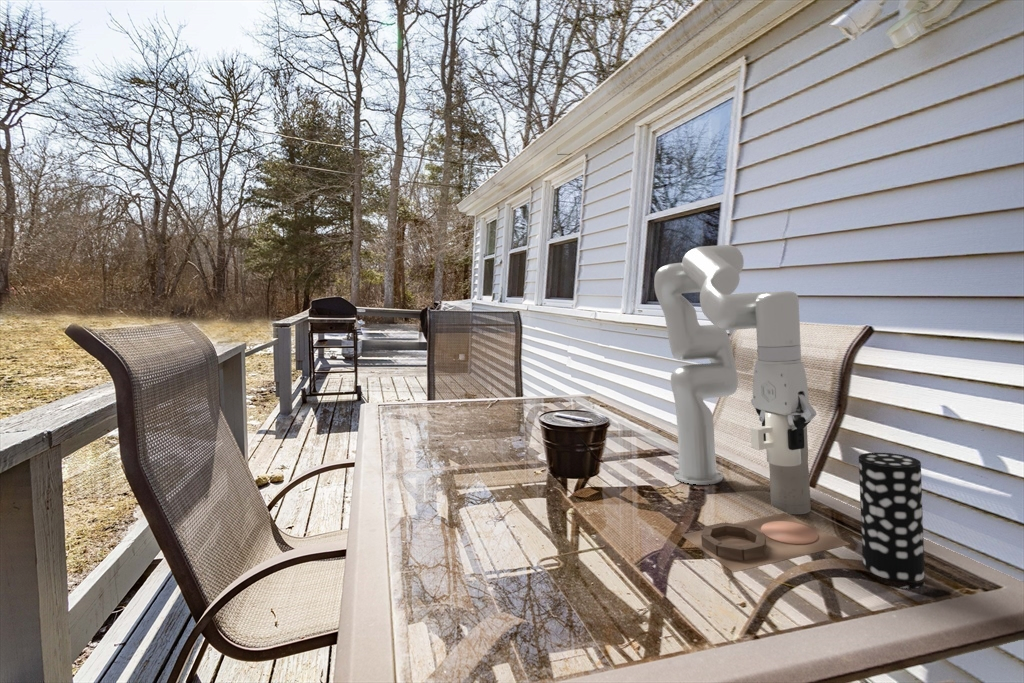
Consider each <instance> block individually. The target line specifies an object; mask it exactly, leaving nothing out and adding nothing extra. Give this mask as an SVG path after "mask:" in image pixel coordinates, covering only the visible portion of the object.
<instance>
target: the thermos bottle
mask: <svg viewBox="0 0 1024 683" xmlns="http://www.w3.org/2000/svg"><path fill="white" fill-rule="evenodd" d="M808 441H809V440H808V426H807V427H806V428H804V448H803V449H801V464H800V465H797V466H778V465H773V464H770V463H768V465H769V489H770V492H769V493H770V506H771V507H772V508H775V509H777V510H779V511H780V512H781V511H782V513H786V514H788V515H805V514H808V513H810V512H811V510H812V508H811V486H810V470H809V444H808Z"/></svg>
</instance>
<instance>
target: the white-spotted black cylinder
mask: <svg viewBox="0 0 1024 683" xmlns="http://www.w3.org/2000/svg"><path fill="white" fill-rule="evenodd" d="M858 472H859V473H858V479H859V496H860V497H859V498H860V499H859V500H860V502H859V503H860V522H861V523H860V525H861V530H860V531H861V552H862V553H861V554H862V565H863V567H864V568H865V569H866V570H867V571H868V572H869V573H872V574H874V575H875V576H878V577H881V578H884V579H888V580H891V581H894V582H895V581H897V582H902V583H903V582H904V583H905V582H906V583H911V584H908V585H904V586H900V587H899V589H906V588H907V589H909V588H910V589H911V588H912V589H917V588H918V589H919V588H921V587H923V586H924V585H925V582H926V581H925V580H924V578H925V575H926V574H925V548H924V547H925V546H924V520H923V518H924V517H923V492H922V491H923V490H922V489H923V487H922V486H923V485H922V462H921V461H920V460H919V459H918V458H914V457H913V456H912V457H911V456H908V455H904V454H900V453H899V454H898V453H893V452H892V453H891V452H866V453H862V454H860V455H858ZM921 580H922V581H921ZM913 582H915V583H913ZM907 589H906V590H907ZM910 589H909V590H910Z"/></svg>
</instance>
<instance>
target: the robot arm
mask: <svg viewBox="0 0 1024 683" xmlns="http://www.w3.org/2000/svg"><path fill="white" fill-rule="evenodd" d="M681 260H682V262H675V263H669V264H666V265H663V266H661V267H660V268H658V269H657V271H656V272H655V274H654V278H653V279H654V283H653V287H654V293H655V296H656V298H657V300H658V303H659V306H660V307H661V310H662V312H663V316H664V319H665V320H664V321H665V325H666V330H667V337H668V343H669V347H670V351H671V354H672V356H673V358H674V359H676V360H678V361H698V360H709V363H708V362H707V363H696V364H688V365H687V364H686V365H682V366H679V367H676V368H675V369H674V370H673V371H672V373H671V376H670V386H671V389H672V394H673V399H674V404H675V412H676V413H675V414H676V415H675V416H676V426H677V427H676V428H677V443H678V444H677V445H678V458H675V459H674V462H675V463H676V464H678V469H676V470H675V471H674V472H673V476H675V477H674V479H675V478H676V479H675V480H676V481H678V480H679V481H678V482H680V481H681V483H683V482H684V483H683V484H687V483H689V484H688V485H693V484H696V485H695V486H708V485H709V484H710V485H714V484H715V485H716V484H718V483H721V482H722V480H723V473H722V472H721V471H719V470H717V464H716V463H717V462H716V461H717V460H716V445H715V444H716V443H715V442H716V441H715V426H714V416H713V413H712V411H711V409H710V407H708V405H707V404H706V403H705V402H704V400H707V399H714V398H723V397H729V396H732V395H733V394H735V393H736V392H737V390H738V386H739V378H738V372H737V367H736V362H735V357H734V353H733V348H732V343H731V342H732V341H731V339H730V335H729V334H728V332H727V331H736V330H749V329H756V346H757V347H756V352H757V360H755V363H754V368H753V375H752V376H753V377H752V399H751V400H750V403H751V405H752V406H753V408H754V410H755V412H756V414H757V415H758V416H759V417H758V420H759V421H760V422H761V427H762V426H765V411H767V412H771V413H776V414H780V415H786V416H787V419H788V422H789V425H790V428H791V429H788V448H789V449H790V450H797V449H803V448H804V428H806V427H807V428H808V424H810V422H811V421H812V420H813V419H814V418H815V417H816V416H817V412H816V410H815V409H814V407H813V406H812V404H810V401H809V400H810V399H809V398H810V397H809V388H808V379H807V374H806V369H805V366H804V363H803V361H802V352H801V351H802V349H801V348H802V347H801V346H802V345H801V327H800V326H801V325H800V324H801V323H800V322H801V321H800V301H799V296H798V294H797V293H796V292H795V291H791V290H790V291H759V292H747V293H746V292H743V293H735V294H734V292H735V291H736V289H737V288H738V286H739V283H740V277H741V276H740V274H741V272H742V270H743V269H744V262H745V261H744V255H743V253H742V252H741V250H740V249H739V248H738V247H737V246H734V245H730V244H723V245H722V244H721V245H705V246H704V245H703V246H697V247H694V248H692V249H690V250H688V251H687V252H686V253H684V256H683V258H682V259H681ZM690 293H699V304H700V307H701V308H700V309H701V311H702V314H704V316H705V317H706V319H708V321H710V322H711V324H705V325H702V324H700V323H699V321H698V315H697V310H696V309H695V306H694V305H693V304H692V303H691V302H690V301H689V300H688V299H687V298H686V297H685V296H683V295H682V294H690ZM794 416H797V420H796V421H795V419H794ZM764 441H766V433H764Z"/></svg>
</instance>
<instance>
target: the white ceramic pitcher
mask: <svg viewBox="0 0 1024 683" xmlns="http://www.w3.org/2000/svg"><path fill="white" fill-rule="evenodd" d="M794 419H795V421H796V420H797V416H794ZM788 429H791V428H790V425H789V422H788V419H787V416H786V415H780V414H776V413H771V412H767V411H765V426H762V425H761V426H753V427H750V441H751V442H750V443H751V448H752V449H755V450H758V451H761V450H765V453H766V462H767V463H768V464H769V463H770V464H773V465H778V466H797V465H800V464H801V449H797V450H790V449H789V448H788ZM764 433H766V441H764Z"/></svg>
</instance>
